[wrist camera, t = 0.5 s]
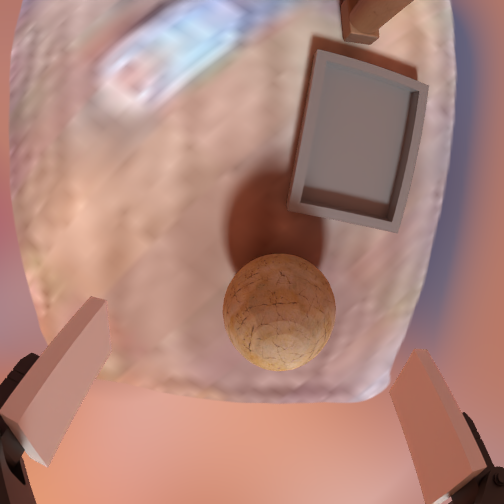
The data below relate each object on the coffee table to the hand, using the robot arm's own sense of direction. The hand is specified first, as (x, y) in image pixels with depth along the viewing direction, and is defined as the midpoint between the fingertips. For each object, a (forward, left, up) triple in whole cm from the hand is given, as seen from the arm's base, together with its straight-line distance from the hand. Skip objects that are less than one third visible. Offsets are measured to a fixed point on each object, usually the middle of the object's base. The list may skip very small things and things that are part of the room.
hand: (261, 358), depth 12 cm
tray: (-10, +10, -27) cm, 31 cm away
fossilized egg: (+10, +4, -28) cm, 30 cm away
